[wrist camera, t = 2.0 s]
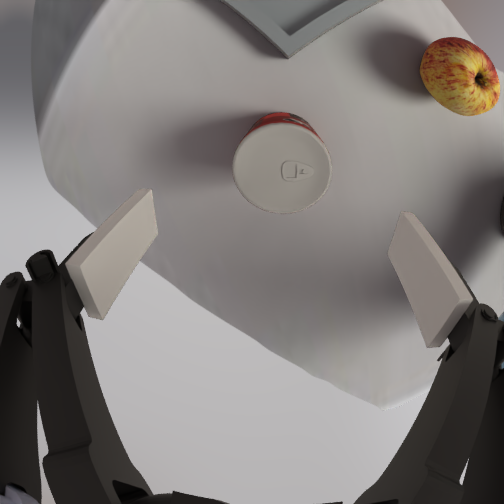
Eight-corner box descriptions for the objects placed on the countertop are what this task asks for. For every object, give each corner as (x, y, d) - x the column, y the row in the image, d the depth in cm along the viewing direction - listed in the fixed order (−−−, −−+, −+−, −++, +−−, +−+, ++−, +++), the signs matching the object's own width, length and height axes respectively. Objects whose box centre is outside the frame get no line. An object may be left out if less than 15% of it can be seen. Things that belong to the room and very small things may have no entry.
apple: (467, 60, 18) (516, 63, 10) (458, 119, 23) (507, 138, 15) (409, 30, 18) (453, 18, 10) (402, 95, 24) (446, 103, 15)
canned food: (323, 165, 30) (341, 203, 21) (259, 181, 32) (249, 224, 23) (306, 104, 26) (319, 112, 17) (238, 122, 28) (217, 141, 19)
